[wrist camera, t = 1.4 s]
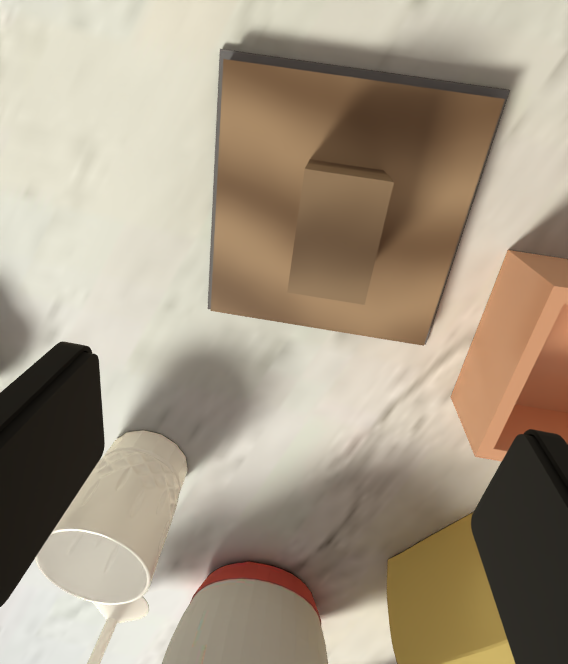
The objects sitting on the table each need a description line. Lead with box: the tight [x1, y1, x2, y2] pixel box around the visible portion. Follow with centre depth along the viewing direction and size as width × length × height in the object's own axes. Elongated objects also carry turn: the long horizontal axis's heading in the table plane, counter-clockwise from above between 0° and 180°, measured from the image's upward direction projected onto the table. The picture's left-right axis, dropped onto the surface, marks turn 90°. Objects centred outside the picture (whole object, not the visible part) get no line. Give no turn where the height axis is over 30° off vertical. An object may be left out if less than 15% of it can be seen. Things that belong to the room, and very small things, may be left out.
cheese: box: [387, 513, 515, 664], centre depth 34 cm, size 10×11×10 cm
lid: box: [211, 59, 505, 346], centre depth 23 cm, size 14×14×6 cm
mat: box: [208, 49, 510, 344], centre depth 25 cm, size 15×15×1 cm
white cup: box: [35, 430, 187, 605], centre depth 32 cm, size 8×8×10 cm
